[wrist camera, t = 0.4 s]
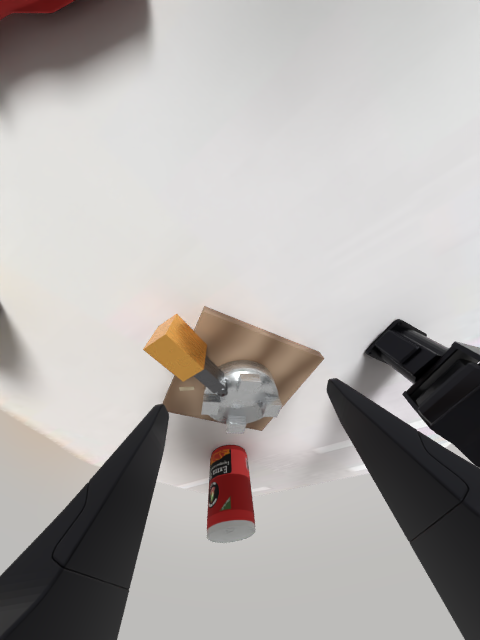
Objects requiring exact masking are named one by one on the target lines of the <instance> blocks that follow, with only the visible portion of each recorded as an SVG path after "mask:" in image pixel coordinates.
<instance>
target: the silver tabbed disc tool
mask: <svg viewBox="0 0 480 640" xmlns="http://www.w3.org/2000/svg"><path fill="white" fill-rule="evenodd" d="M206 349H207V344H206V343H205V342H204V341H203V340H202V339H201V338H200V337H199V336H198V335H197V334H196V333H195V332H194V331H193V330H192V329H191V328H190V327H189V326H188V325H187V324H186V323H185V322H184V321H183V320H182V319H181V318H180V317H179V316H178V314H175V315H174V316H173V317H171V318H170V319H168V320H167V321H166V322H164V323H163V324H161V325H160V326H158V328H157V329H156V331H155V332H154V334H153V335H152V337H151V338H150V340H149V341H148V343H147V344H146V346H145V347H144V349H143V350H144V351H146V352H147V353H148V354H149V355H150V356H152V357H153V358H154V359H155V360H157V361H158V362H159V363H160V364H162V365H163V366H164V367H165V368H167V369H168V370H169V371H170V372H172V373H173V374H174V375H175V376H177V377H178V378H179V379H180V380H182V381H183V382H184V381H185V380H187V379H189V378H190V377H192V376H194V377H195V378H196V379H198V380H199V381H200V382H201V383H202V384H203V385H205V387H204V396H203V403H202V412H201V415H209V416H210V417H211V418H213V419H214V420H216V421H219V422H221V423H225V424H226V433H244V430H245V427H246V424H247V423H251V422H254V421H257V420H259V419H261V418H263V417H277V416H278V413H279V411H280V409H281V407H282V404H281V401H280V398H279V397H278V390H277V387H276V385H275V382H274V379H273V376H272V374H271V372H270V371H269V370H268V369H267V368H266V367H265V366H263V365H262V364H260V363H257V362H254V361H249V360H236V361H231V362H227V363H225V364H222V365H221V366H219V367H217V366H216V365H215V364H214V363H213V362H212V361H211V360H210V359H209V358H208V357H207V356H206Z"/></svg>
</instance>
